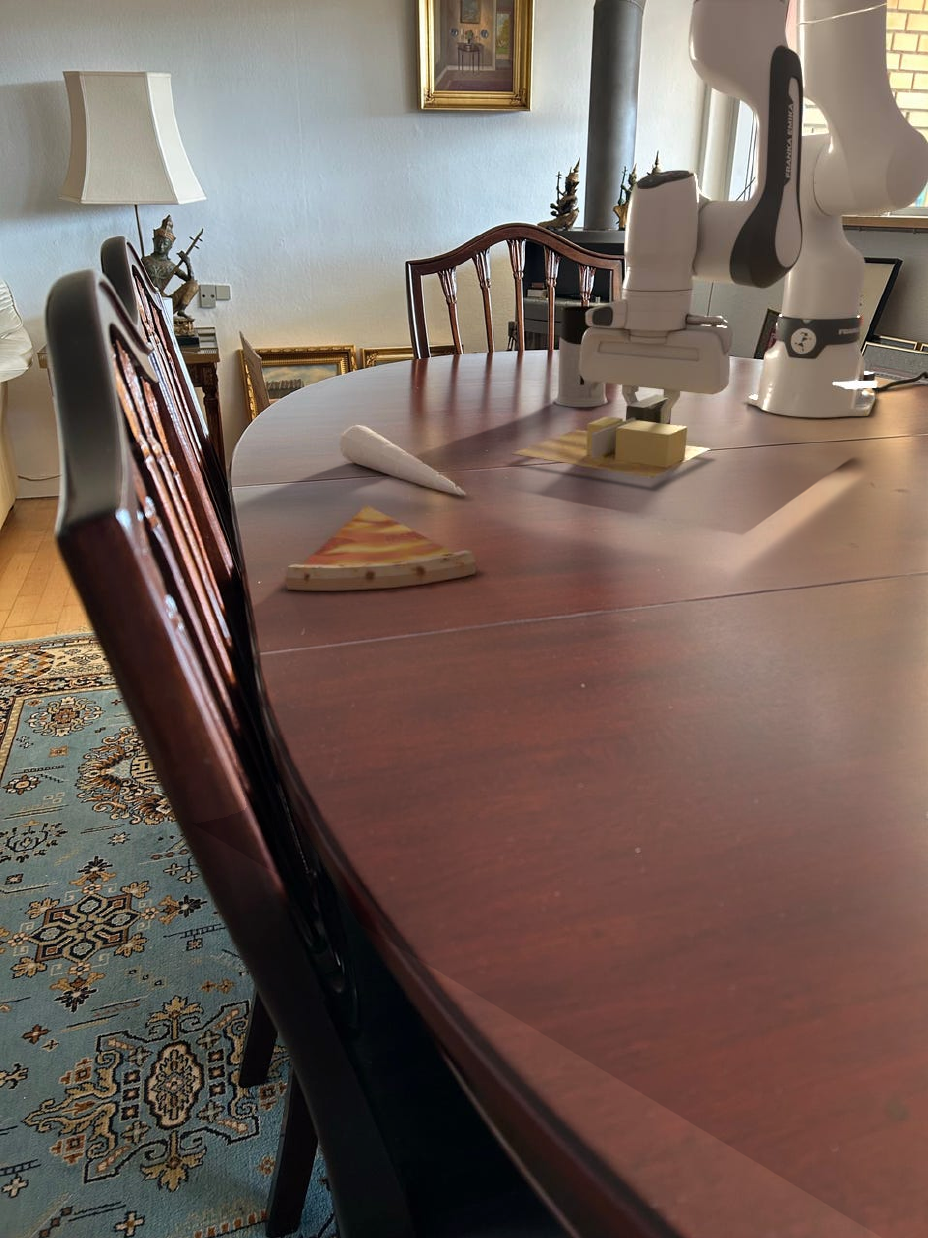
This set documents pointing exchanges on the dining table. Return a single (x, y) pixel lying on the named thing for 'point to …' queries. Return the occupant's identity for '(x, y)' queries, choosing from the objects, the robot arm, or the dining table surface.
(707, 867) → the dining table surface
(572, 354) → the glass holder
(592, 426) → the block
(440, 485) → the unicorn horn
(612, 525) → the dining table surface
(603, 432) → the knife
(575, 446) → the board
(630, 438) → the butter
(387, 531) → the pizza slice
